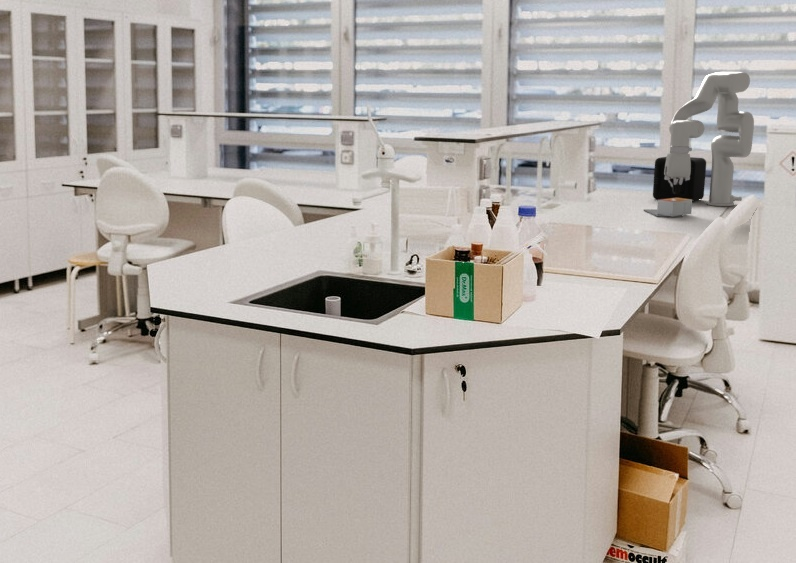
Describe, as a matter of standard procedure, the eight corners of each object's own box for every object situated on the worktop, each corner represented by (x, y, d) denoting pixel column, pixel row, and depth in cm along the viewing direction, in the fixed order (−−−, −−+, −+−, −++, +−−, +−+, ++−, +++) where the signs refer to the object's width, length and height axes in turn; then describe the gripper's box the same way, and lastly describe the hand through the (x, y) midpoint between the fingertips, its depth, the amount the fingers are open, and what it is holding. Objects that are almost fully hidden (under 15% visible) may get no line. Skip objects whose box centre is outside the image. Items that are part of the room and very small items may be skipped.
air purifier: (650, 199, 438) (653, 157, 434) (663, 196, 449) (666, 155, 445) (691, 203, 425) (694, 160, 421) (703, 200, 436) (706, 158, 432)
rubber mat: (668, 210, 401) (668, 209, 401) (682, 216, 384) (682, 215, 384) (643, 210, 401) (643, 209, 401) (656, 217, 383) (656, 215, 383)
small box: (692, 199, 386) (673, 201, 379) (691, 214, 388) (672, 216, 380) (676, 197, 393) (657, 199, 385) (675, 211, 394) (656, 214, 387)
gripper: (693, 149, 391) (690, 192, 395) (658, 149, 390) (655, 192, 394) (699, 151, 383) (696, 194, 387) (664, 151, 383) (661, 194, 387)
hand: (676, 193), depth 391 cm, fingers closed
